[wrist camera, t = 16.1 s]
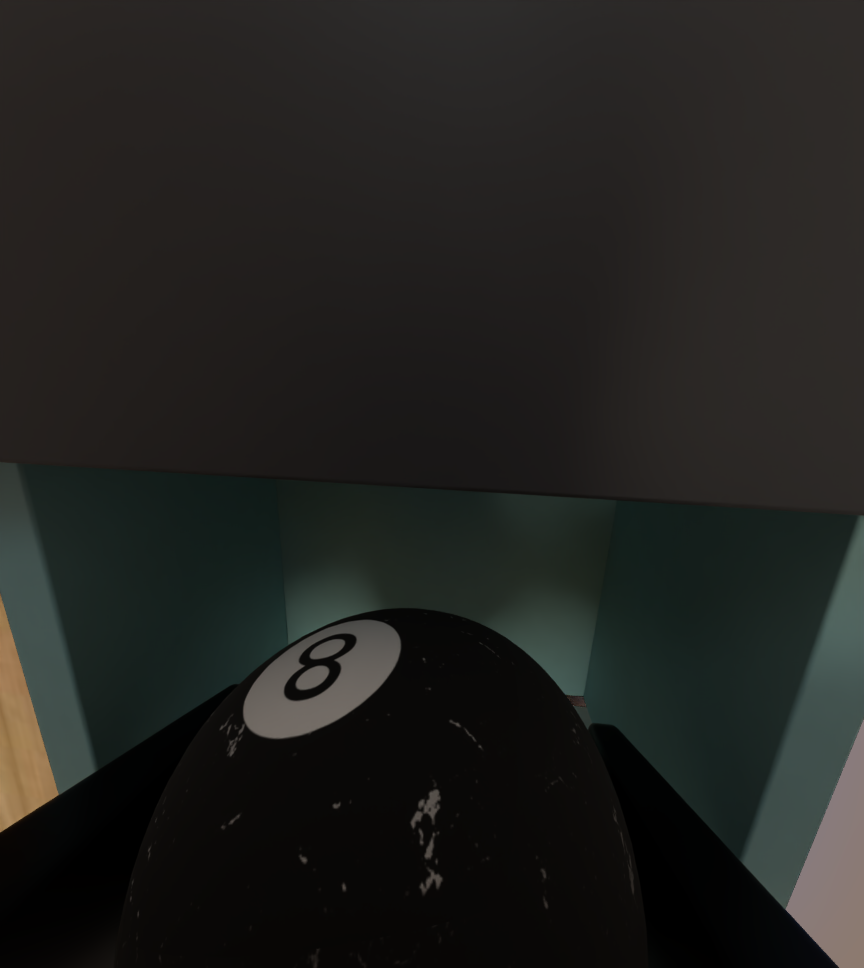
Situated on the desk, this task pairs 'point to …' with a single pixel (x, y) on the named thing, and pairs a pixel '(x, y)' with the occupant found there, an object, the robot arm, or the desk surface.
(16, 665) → the desk surface
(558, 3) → the drawer box
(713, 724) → the mint green drawer
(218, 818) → the billiard ball
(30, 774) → the desk surface
